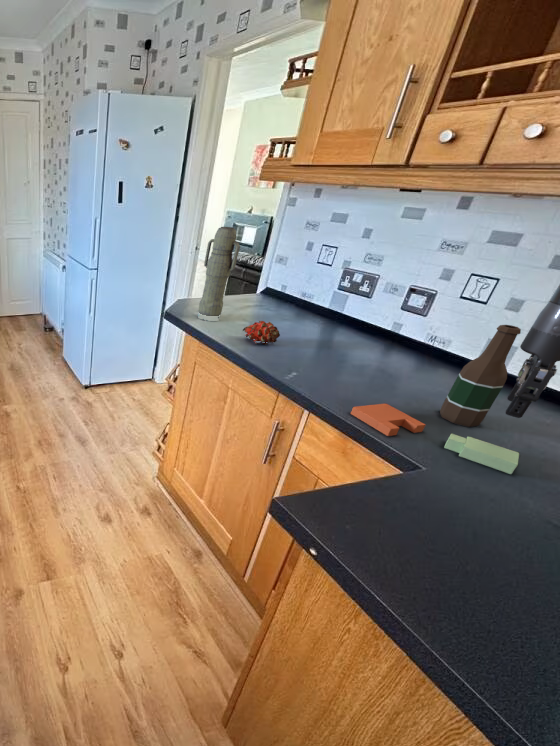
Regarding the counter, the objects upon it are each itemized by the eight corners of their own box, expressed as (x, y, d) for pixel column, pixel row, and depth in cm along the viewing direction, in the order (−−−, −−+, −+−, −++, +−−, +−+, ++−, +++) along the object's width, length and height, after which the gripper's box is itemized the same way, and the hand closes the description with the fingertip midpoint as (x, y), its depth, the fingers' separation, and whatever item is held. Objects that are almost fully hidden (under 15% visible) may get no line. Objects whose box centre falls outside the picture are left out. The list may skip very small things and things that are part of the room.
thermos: (219, 323, 163) (240, 230, 147) (190, 317, 169) (207, 226, 153) (226, 318, 169) (247, 228, 153) (198, 312, 175) (215, 225, 159)
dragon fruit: (277, 352, 142) (240, 348, 149) (284, 333, 145) (247, 330, 152) (276, 337, 136) (238, 333, 143) (283, 317, 138) (245, 314, 146)
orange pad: (382, 410, 105) (386, 403, 104) (422, 431, 96) (426, 424, 95) (350, 413, 103) (353, 406, 102) (387, 436, 94) (391, 428, 93)
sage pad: (446, 440, 93) (452, 430, 92) (512, 462, 86) (519, 452, 85) (442, 450, 90) (448, 441, 88) (511, 474, 83) (518, 464, 82)
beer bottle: (483, 421, 101) (539, 328, 90) (474, 431, 97) (531, 335, 86) (443, 408, 106) (491, 318, 95) (433, 416, 102) (482, 324, 91)
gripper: (599, 345, 67) (541, 429, 74) (592, 327, 75) (540, 403, 83) (532, 333, 71) (484, 413, 79) (533, 317, 80) (489, 390, 88)
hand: (513, 408), depth 81 cm, fingers open, 8 cm apart
